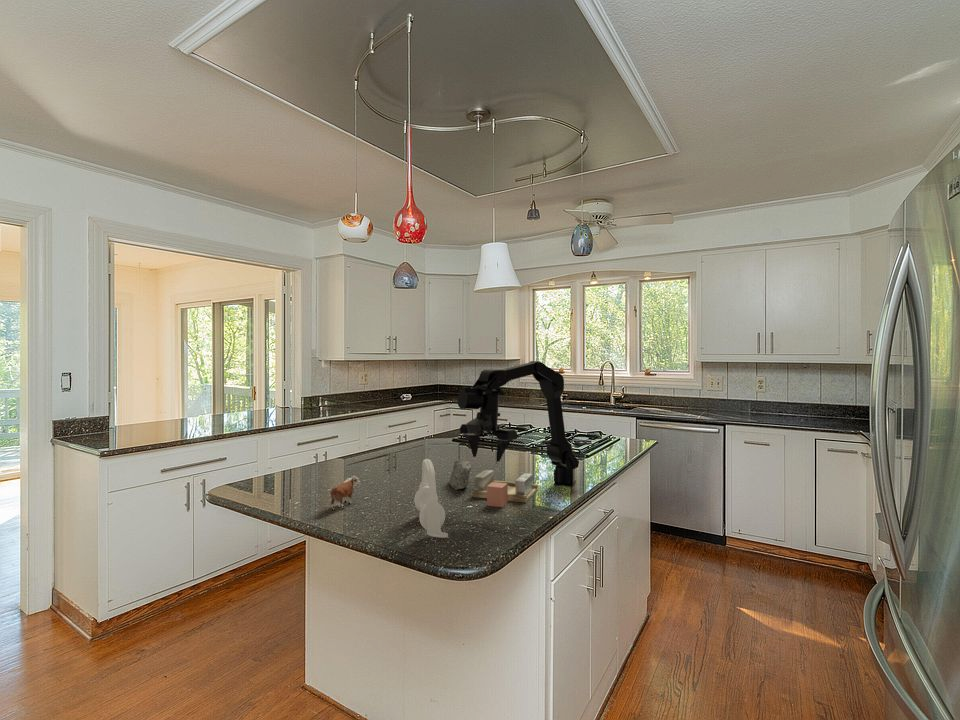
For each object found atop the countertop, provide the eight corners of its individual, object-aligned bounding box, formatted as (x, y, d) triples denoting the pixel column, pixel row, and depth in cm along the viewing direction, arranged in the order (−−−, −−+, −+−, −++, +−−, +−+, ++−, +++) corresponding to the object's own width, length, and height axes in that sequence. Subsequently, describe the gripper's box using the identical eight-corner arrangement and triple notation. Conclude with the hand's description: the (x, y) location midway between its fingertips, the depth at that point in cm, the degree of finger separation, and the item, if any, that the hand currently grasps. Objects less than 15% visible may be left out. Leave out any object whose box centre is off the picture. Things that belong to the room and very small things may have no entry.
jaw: (533, 488, 167) (533, 473, 167) (524, 496, 158) (524, 481, 157) (524, 487, 168) (524, 473, 168) (515, 496, 159) (515, 480, 158)
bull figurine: (363, 499, 160) (362, 474, 160) (338, 513, 148) (337, 485, 148) (351, 498, 162) (350, 473, 162) (325, 511, 149) (325, 484, 149)
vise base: (537, 490, 168) (537, 472, 168) (526, 502, 155) (525, 483, 155) (487, 485, 175) (487, 468, 175) (472, 496, 162) (472, 478, 162)
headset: (413, 515, 145) (412, 454, 145) (438, 513, 147) (437, 452, 146) (420, 541, 126) (419, 470, 125) (448, 538, 127) (447, 468, 127)
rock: (470, 491, 167) (471, 462, 168) (446, 490, 167) (447, 461, 168) (472, 486, 182) (473, 459, 183) (450, 486, 182) (451, 459, 183)
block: (507, 502, 156) (507, 483, 156) (502, 507, 151) (502, 487, 151) (492, 500, 158) (492, 482, 158) (487, 505, 153) (486, 486, 153)
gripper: (450, 407, 157) (447, 457, 157) (498, 413, 146) (495, 466, 145) (471, 406, 166) (468, 453, 165) (519, 412, 155) (516, 462, 154)
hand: (486, 459), depth 157 cm, fingers open, 9 cm apart
